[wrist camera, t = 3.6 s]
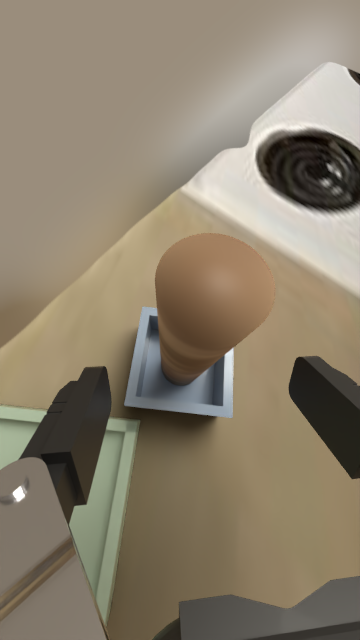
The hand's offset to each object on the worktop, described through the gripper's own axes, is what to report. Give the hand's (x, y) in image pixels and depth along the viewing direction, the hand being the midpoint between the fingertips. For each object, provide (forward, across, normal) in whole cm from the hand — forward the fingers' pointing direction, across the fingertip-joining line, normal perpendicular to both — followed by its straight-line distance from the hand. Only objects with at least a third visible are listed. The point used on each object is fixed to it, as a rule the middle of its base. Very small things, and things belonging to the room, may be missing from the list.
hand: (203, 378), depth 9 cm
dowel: (+10, 0, +6) cm, 11 cm away
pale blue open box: (+10, 0, +7) cm, 12 cm away
